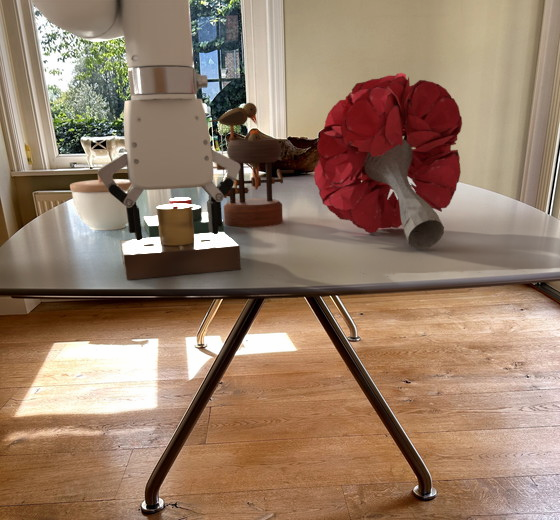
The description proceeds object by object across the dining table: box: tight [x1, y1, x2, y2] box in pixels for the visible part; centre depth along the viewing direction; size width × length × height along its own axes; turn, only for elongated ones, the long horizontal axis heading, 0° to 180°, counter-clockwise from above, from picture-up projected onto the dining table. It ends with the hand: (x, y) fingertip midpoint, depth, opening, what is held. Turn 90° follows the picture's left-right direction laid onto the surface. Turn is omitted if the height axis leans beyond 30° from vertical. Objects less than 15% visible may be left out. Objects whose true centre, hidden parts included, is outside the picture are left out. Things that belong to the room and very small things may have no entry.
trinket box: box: [69, 175, 132, 232], centre depth 104 cm, size 11×11×9 cm
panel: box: [119, 231, 242, 281], centre depth 77 cm, size 14×10×3 cm
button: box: [169, 197, 193, 205], centre depth 99 cm, size 4×4×2 cm
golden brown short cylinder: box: [156, 203, 195, 246], centre depth 75 cm, size 4×4×5 cm
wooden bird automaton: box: [208, 102, 295, 228], centre depth 104 cm, size 15×11×20 cm
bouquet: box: [313, 72, 463, 250], centre depth 89 cm, size 22×24×30 cm
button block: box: [142, 204, 225, 238], centre depth 100 cm, size 12×10×4 cm
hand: (176, 235), depth 76 cm, fingers open, 9 cm apart
